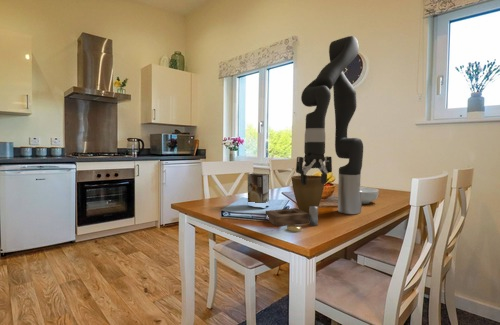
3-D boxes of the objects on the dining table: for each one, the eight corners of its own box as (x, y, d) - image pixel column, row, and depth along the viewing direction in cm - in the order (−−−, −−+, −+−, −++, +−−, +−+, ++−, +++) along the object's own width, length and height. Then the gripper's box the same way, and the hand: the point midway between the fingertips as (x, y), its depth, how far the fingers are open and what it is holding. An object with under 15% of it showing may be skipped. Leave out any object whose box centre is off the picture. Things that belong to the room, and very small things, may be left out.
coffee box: (269, 206, 134) (270, 174, 133) (263, 209, 129) (263, 175, 128) (254, 204, 139) (254, 172, 138) (247, 206, 134) (247, 174, 133)
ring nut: (296, 227, 101) (296, 223, 101) (304, 232, 96) (304, 227, 96) (284, 229, 99) (284, 225, 99) (291, 233, 94) (291, 229, 94)
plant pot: (325, 209, 129) (325, 175, 128) (323, 217, 115) (324, 179, 114) (293, 207, 133) (294, 174, 132) (288, 214, 119) (288, 177, 118)
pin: (314, 223, 106) (314, 205, 106) (319, 225, 103) (319, 207, 103) (307, 223, 105) (307, 205, 104) (312, 226, 102) (312, 207, 101)
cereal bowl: (346, 198, 156) (346, 185, 156) (378, 200, 149) (378, 187, 148) (342, 203, 141) (342, 190, 141) (377, 207, 134) (378, 192, 133)
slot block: (295, 216, 116) (295, 208, 116) (309, 222, 107) (309, 213, 107) (265, 219, 111) (265, 210, 111) (276, 226, 102) (276, 217, 102)
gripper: (324, 141, 108) (323, 182, 109) (292, 141, 103) (292, 183, 104) (337, 141, 101) (335, 184, 102) (303, 140, 96) (302, 186, 97)
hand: (313, 184), depth 103 cm, fingers open, 8 cm apart
